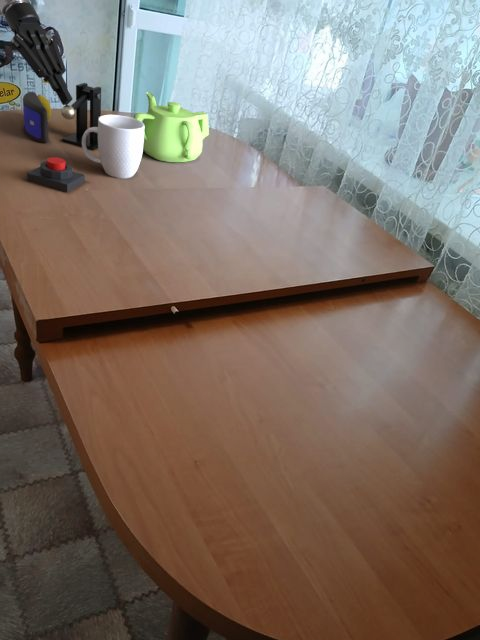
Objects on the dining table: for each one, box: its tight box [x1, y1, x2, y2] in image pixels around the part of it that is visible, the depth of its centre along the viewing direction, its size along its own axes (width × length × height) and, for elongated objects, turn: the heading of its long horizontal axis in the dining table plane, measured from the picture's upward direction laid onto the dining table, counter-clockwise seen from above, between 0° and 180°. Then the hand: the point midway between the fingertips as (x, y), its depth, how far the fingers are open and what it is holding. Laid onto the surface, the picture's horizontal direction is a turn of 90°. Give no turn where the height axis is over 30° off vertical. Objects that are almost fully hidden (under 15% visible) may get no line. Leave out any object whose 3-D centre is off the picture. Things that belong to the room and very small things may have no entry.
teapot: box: [133, 91, 210, 163], centre depth 154 cm, size 19×20×14 cm
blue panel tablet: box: [22, 91, 49, 144], centre depth 147 cm, size 16×5×9 cm, turn 28°
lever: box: [60, 85, 94, 121], centre depth 143 cm, size 14×3×3 cm, turn 166°
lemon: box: [37, 93, 52, 121], centre depth 156 cm, size 6×6×8 cm
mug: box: [81, 114, 144, 179], centre depth 136 cm, size 15×11×13 cm
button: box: [46, 157, 66, 170], centre depth 126 cm, size 4×4×2 cm
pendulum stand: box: [62, 82, 102, 151], centre depth 149 cm, size 12×9×15 cm
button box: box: [26, 160, 86, 193], centre depth 127 cm, size 10×8×4 cm
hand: (67, 102), depth 138 cm, fingers closed
